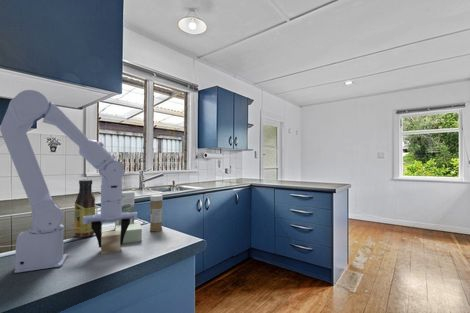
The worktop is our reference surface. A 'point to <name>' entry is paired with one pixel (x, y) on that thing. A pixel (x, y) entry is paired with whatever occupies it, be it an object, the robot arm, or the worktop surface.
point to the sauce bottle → (84, 208)
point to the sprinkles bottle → (156, 212)
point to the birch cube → (110, 242)
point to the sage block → (131, 233)
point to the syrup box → (127, 204)
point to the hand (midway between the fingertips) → (111, 245)
